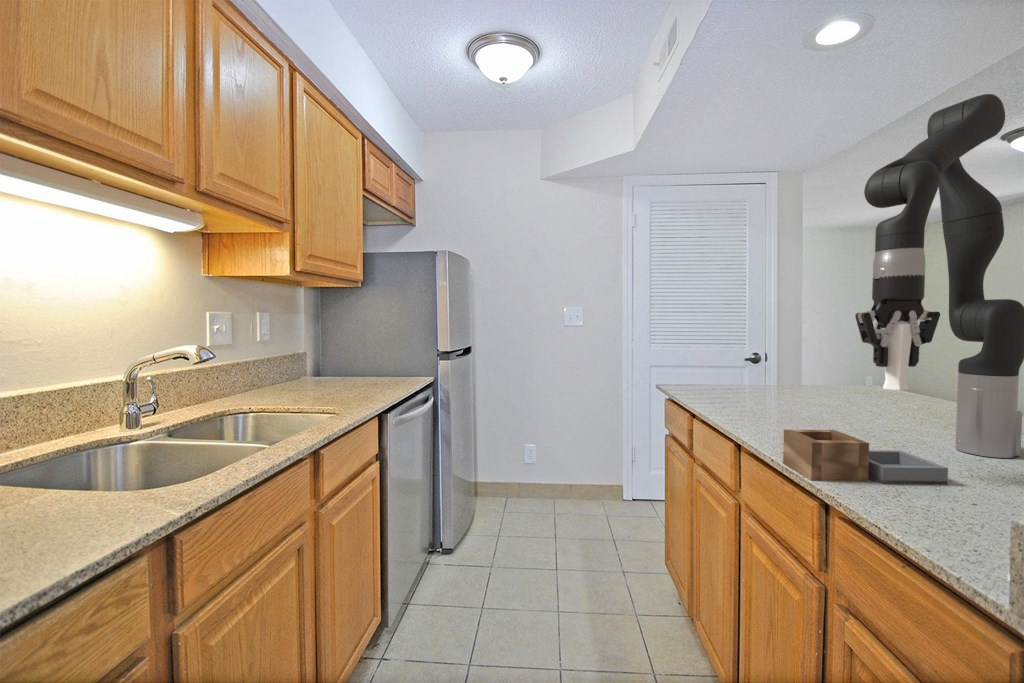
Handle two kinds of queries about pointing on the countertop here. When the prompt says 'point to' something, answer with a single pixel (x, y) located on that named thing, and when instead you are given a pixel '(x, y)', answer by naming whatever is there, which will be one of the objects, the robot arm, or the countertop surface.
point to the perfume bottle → (898, 357)
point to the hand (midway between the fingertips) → (895, 366)
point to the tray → (904, 468)
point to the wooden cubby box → (826, 455)
